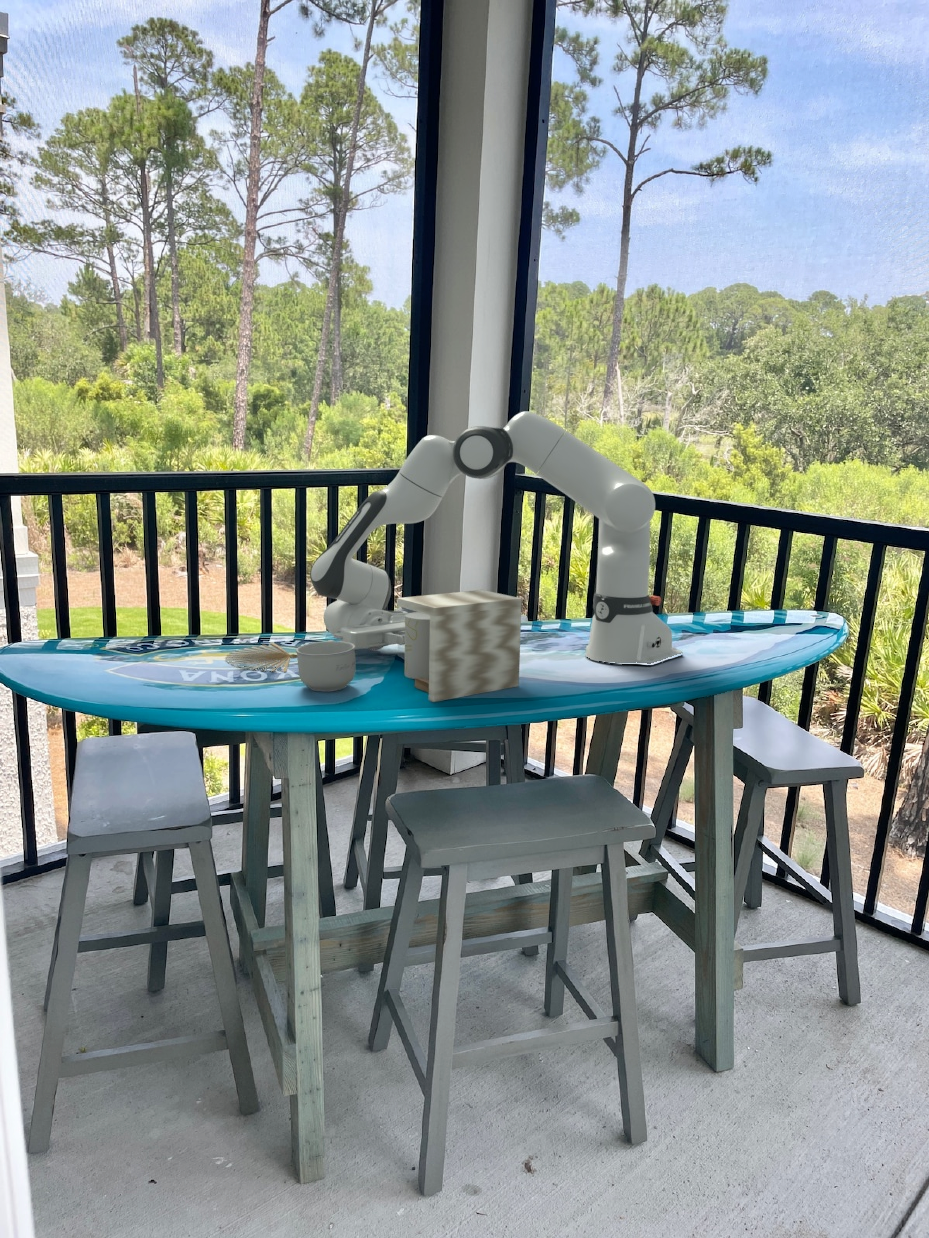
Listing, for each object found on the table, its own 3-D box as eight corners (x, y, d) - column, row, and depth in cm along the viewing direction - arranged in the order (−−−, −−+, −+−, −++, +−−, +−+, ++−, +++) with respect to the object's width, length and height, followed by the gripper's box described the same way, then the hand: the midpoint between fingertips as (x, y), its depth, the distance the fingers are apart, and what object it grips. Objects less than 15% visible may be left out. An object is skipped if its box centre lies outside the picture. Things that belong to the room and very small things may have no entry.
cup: (404, 669, 182) (404, 611, 180) (444, 669, 183) (445, 611, 180) (404, 679, 174) (405, 619, 172) (446, 679, 175) (447, 619, 172)
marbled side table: (479, 672, 180) (481, 589, 177) (518, 686, 171) (521, 598, 168) (396, 687, 168) (397, 598, 165) (433, 702, 159) (435, 607, 156)
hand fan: (292, 645, 204) (223, 647, 199) (292, 641, 203) (223, 644, 199) (304, 673, 179) (227, 676, 175) (304, 669, 179) (227, 672, 174)
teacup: (345, 697, 161) (345, 654, 160) (288, 693, 163) (287, 650, 161) (366, 678, 175) (366, 638, 173) (313, 675, 176) (312, 635, 175)
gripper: (329, 619, 187) (363, 630, 176) (410, 610, 199) (447, 620, 188) (329, 649, 188) (363, 661, 177) (410, 637, 200) (447, 649, 189)
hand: (407, 640), depth 183 cm, fingers closed
